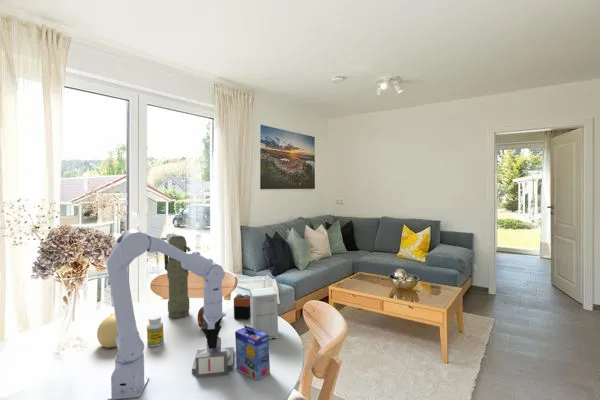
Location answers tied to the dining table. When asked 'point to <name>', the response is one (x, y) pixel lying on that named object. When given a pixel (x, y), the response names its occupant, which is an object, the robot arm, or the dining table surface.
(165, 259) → the thermos
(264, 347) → the ink cartridge box
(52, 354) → the dining table surface
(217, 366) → the scale
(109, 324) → the sculpture
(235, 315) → the battery
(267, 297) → the white tall box
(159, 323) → the supplement bottle
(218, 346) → the silver metal cylinder
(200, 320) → the tin
